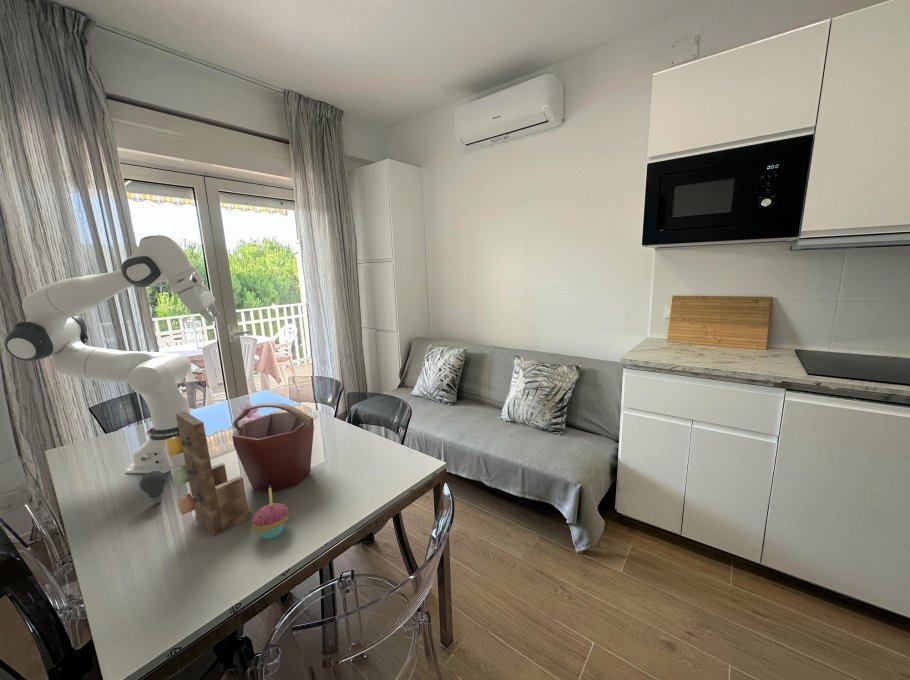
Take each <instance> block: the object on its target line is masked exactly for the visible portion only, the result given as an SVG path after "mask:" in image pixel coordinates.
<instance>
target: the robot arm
mask: <svg viewBox="0 0 910 680" xmlns="http://www.w3.org/2000/svg"><path fill="white" fill-rule="evenodd" d="M138 243H139V244H138V246H137V248H136V249H135V251H134V252H132V254H131V255H130V256H129V257H128V258H127V259H125V260H124V261H123V262H122V264H121V268H120V269H117V270H114V271H109V272H104V273H103V272H102V273H99V274H98V273H97V274H91V275H90V274H89V275H84V276H83V275H82V276H76V277H70V278H66V279H65V278H64V279H62V280H61V279H60V280H58V281H55V282H52V283H49V284H46V285H45V286H42V287H40V288H38V289H36V290H34V291H32V292H31V293H29V294H28V295H27V296H25V297H24V299H22V302H21V303H22V304H21V307H22V310H23V312H24V313H25V315H26V316H27V318H26V320H25V321H19V322H17V323H16V324H15V326H14V327H13V329H12V330H11V331H10V332H9V334H8V335H7V336H6V338H5V340H4V348H5V350H6V351H7V353H8V354H9V355H10V356H12V357H13V358H15V359H18V360H20V361H24V362H36V361H40V360H43V359H46V358H48V357H51V359H52V360H51V364H52V368H53V369H54V370H55V371H56V372H58V373H59V374H62V375H66V376H71V377H74V378H78V379H84V380H90V381H100V382H108V383H117V384H122V383H123V384H125V383H128V385H129V387H130V388H131V389H132V390H133V391H134V392H136V393H138V394H139V395H140V396H141V397H142V399H143V400H144V402H145V403H146V405H147V408H148V410H149V414H150V418H151V422H152V428H150V429H149V430H148V431H146V432H145V433H146V434H145V435H146V436H148V435H149V438H148V439H147V440H146V441H145V442H144V443H143V444H142V445H141V446H140V447H138V448H137V449H136V450H135V452H134V453H133V463H130V464H129V466H128V467H127V468H126V474H147V473H149V472H151V471H161V472H163V473H164V474H166V473H169V472H171V470H172V469H174V468H177V467H180V466H182V465H184V466H185V467H186V463H185V458H184V453H180V454H177V455H174V456H171V457H170V456H169V455H168V453H167V450H166V446H165V440H166V439H169V438H172V437H175V436H179V437H180V433H179V428H178V423H177V418H176V413H180V412H184V411H185V412H187V413H188V414H190V415H191V410H190V406H189V405H190V404H189V401H188V399H187V398H186V397H185V396H184V395H182V392H181V391H180V388H179V386H178V383H179V382H180V381H182V380H184V379H185V378H186V377H187V376H188V375H189V373H190V372H191V370H192V362H191V360H190V359H189V357H188V356H187V355H185V354H182V353H178V352H154V351H129V350H120V349H114V348H106V347H98V346H91V345H87V344H86V343H87V342H88V339H89V336H88V328H87V324H86V322H85V320H84V319H83V318H82V317H81V316H79V315H82V314H85V313H87V312H89V311H90V310H94V309H95V308H96V307H98V306H100V305H102V304H103V303H105V302H106V301H108V300H110V299H111V298H113V297H115V296H116V295H118V294H119V293H121V292H123V291H125V290H128V289H129V288H132V287H138V288H147V287H151V286H154V285H158V284H160V283H163V282H165V281H167V282H168V284H169V285H170V286H169V289H170V291H171V293H172V294H174V295H177V297H178V298H179V300H180V301H181V302H182V303H183V305H184V306H185V307H186V308H187V309H188V310H189V311H190V312H191V313H193V314H194V315H195V314H198V313H199V314H200V315H201V316H202V317H203V318H204V319H205V320H206V321H207V322H208V323H209V324H211V323H213V322H215V318H217V317H219V316H220V312H219V311H218V309H217V307H216V305H215V302H216V301H217V300H216V299H217V298H215V296H214V294H213V293H212V292H211V291H210V289H209V288H208V287H207V286H206V285H205V283H203V282H204V281H206V280H205V278H204V276H203V275H202V274H201V273H200V272H199V270H198V269H197V267H196V266H195V265H194V264H192V262H191V261H190V260H189V257H188V255H187V253H186V252H185V250H183V247H181V245H180V244H179V243H178V242H177V241H176V240H175V239H174V237H172V236H171V235H169V234H167V233H156V234H152V235H148V236H145V237H142V238H141V239H140V240H139V242H138ZM208 309H209V310H208ZM209 311H210V312H209ZM180 439H181V438H180Z"/></svg>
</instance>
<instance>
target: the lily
mask: <svg viewBox="0 0 910 680" xmlns="http://www.w3.org/2000/svg"><path fill="white" fill-rule="evenodd" d="M250 406H253V404H252V402H250V401H249V400H248V399H247V400H246V403H245V405H244V407H242V406H241V407H240V406H236V409H237V410H239V412H240V413H242V412H243V411H244V409H246V408H248V407H250ZM259 412H260V408H256V409H252V410H250V412H249V413H248V414H247V415H246V416H245V417H244V418H242V419H241V420H240V421H243V422H242V423H245V422H246V421H247V422H248V421H251V420H253V419H256V418H259V417H262V416H261V415H260V414H259Z"/></svg>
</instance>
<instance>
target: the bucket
mask: <svg viewBox="0 0 910 680" xmlns="http://www.w3.org/2000/svg"><path fill="white" fill-rule="evenodd" d="M256 408H258V409H262V408H274V409H280V410H282V411H283V412H272V413H271V412H270V413H269V414H266V415H263V416H261V417H259V418H256V419H253V420H251V421H248V420H247V421H244V423H243V422H242V423H240V421H242V420H241V419H242V418H244V417H245V416H246V415H247V414H248V413H249V412H250V410H252V409H256ZM232 425H233V427H234V429H235V432H234V433H233V434H232V442H233V447H234V449H235V451H236V454H237V456H238V458H239V461H240V463H241V465H242V468H243V469H244V472H245V475H246V476H247V479H248V482H249V484H250V485H251V488H252V490H255V491H258V492H263V493H268V494H269V489H270V488H271V490H272V494H274V493H276V492H280V491H283V490H287V489H291V488H294V487H296V486H298V485H300V483H301V482H303V480H304V479H305V478H306V477H307V476H308V475H309V474H310V473H311V466H312V456H313V455H312V454H313V442H314V431H315V424H314V418H313V417H312V416H310V415H308V414H307V413H306V412H304V411H302V410H300V409H298V408H297V407H295V406H292V405H289V404H286V403H281V402H264V403H258V404H254V405H253V404H252V406H250V407H248V408H246V409H244V411H243V412H240V414H239V415H238V416H237V417H236V418H235V419H234V420H233V423H232ZM269 486H270V487H269Z"/></svg>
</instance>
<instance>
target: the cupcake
mask: <svg viewBox="0 0 910 680" xmlns="http://www.w3.org/2000/svg"><path fill="white" fill-rule="evenodd" d="M269 487H270V486H269ZM268 499H269V504H267V505H263V506H262V507H260V508H258V510H257V511H255V513H254V514H253V516H252V517H251V526H252V527H251V528H252V530H254V531H257V532H259V534H260V535H261V537H262V538H263V539H266V540H270V539H274V538H276V537H278V536H279V535H281V534H282V532H283V531H284V526H285V523H286V521H287V520H288V519H289V516H290V515H289V514H290V513H289V510H288V509H289V507H287V506H286V505H285V504H283V503H280V502H273V493H272V490H271V488H270V489H269V493H268Z"/></svg>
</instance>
